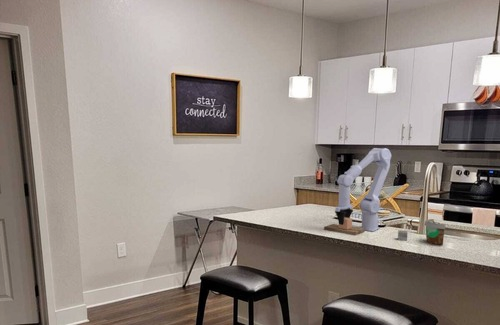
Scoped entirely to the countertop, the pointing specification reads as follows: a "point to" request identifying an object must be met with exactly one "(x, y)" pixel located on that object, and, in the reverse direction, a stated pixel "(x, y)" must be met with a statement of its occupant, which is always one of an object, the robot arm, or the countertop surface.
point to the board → (347, 231)
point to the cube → (346, 223)
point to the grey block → (402, 235)
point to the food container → (434, 232)
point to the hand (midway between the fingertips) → (343, 223)
